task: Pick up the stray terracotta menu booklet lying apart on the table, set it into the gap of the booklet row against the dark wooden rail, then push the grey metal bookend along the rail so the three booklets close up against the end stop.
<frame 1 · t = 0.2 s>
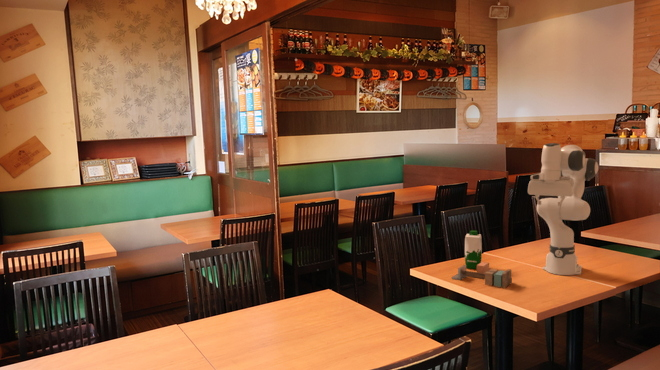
hand: (549, 205, 246), 39 cm above the table, tool pointing down, fingers open, 8 cm apart
milk carton: (473, 267, 282), on the table
bookend: (458, 271, 263), point 3 cm above the table, slide at 0.0 cm
booklet a: (500, 284, 250), on the table
booklet b: (491, 283, 253), on the table
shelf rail: (484, 281, 255), on the table
booklet c: (482, 275, 267), on the table
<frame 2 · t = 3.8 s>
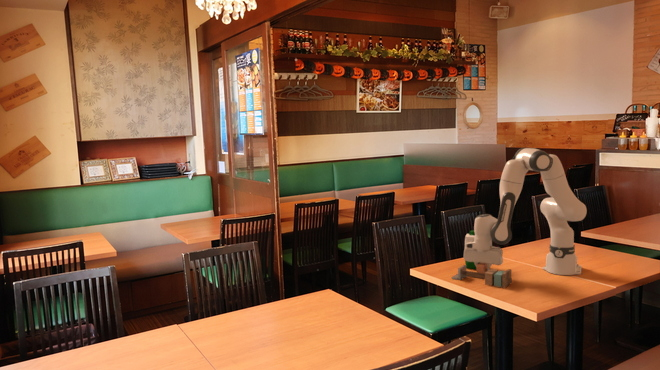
hand: (482, 270, 267), 2 cm above the table, tool pointing down, fingers closed on booklet c, 3 cm apart
booklet c: (482, 274, 267), on the table, touching gripper
everything else where it was.
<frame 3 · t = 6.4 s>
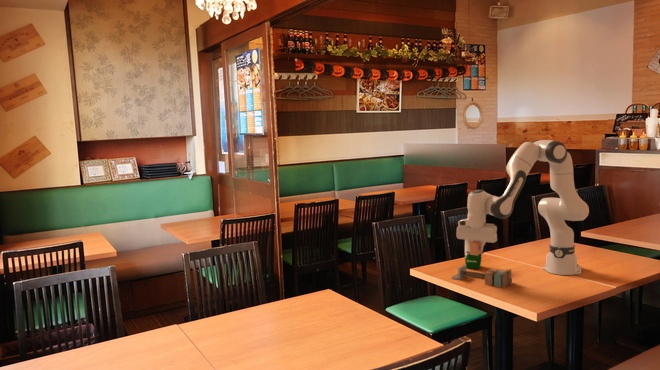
hand: (476, 249, 256), 16 cm above the table, tool pointing down, fingers closed on booklet c, 3 cm apart
booklet c: (476, 253, 256), point 14 cm above the table, touching gripper
everything else where it was.
when the fingers open (3 cm above the table, at t = 8.9 s): booklet c drops 1 cm, on the table.
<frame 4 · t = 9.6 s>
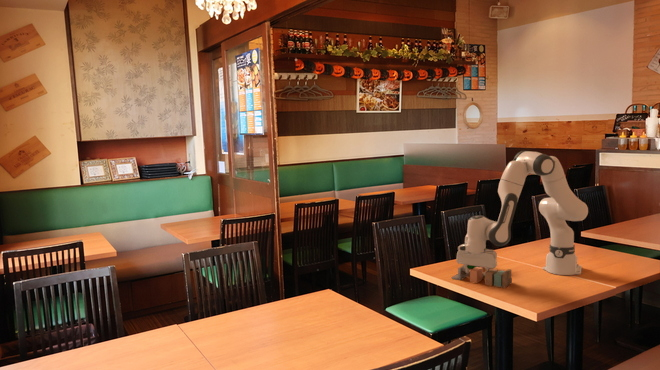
hand: (476, 274, 257), 3 cm above the table, tool pointing down, fingers open, 8 cm apart
booklet c: (476, 280, 258), on the table
everything else where it was.
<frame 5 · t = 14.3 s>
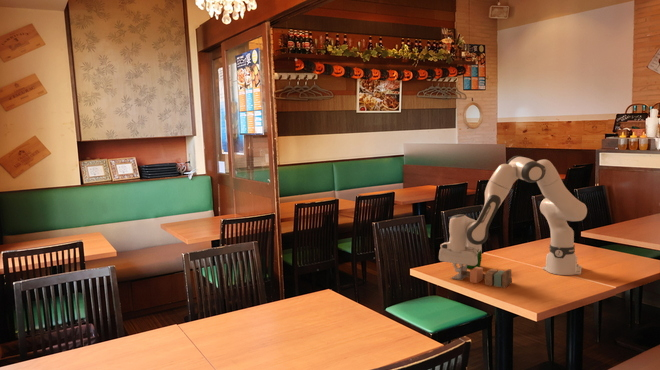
hand: (458, 271, 264), 3 cm above the table, tool pointing down, fingers closed
bookend: (459, 272, 263), point 3 cm above the table, slide at 0.3 cm, touching gripper
everything else where it was.
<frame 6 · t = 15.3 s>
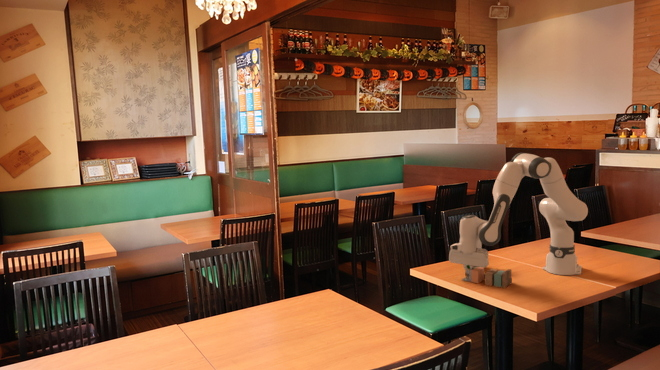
hand: (468, 273, 260), 3 cm above the table, tool pointing down, fingers closed
bookend: (469, 273, 259), point 3 cm above the table, slide at 5.9 cm, touching booklet c, gripper
booklet c: (477, 280, 257), on the table, touching bookend
everything else where it was.
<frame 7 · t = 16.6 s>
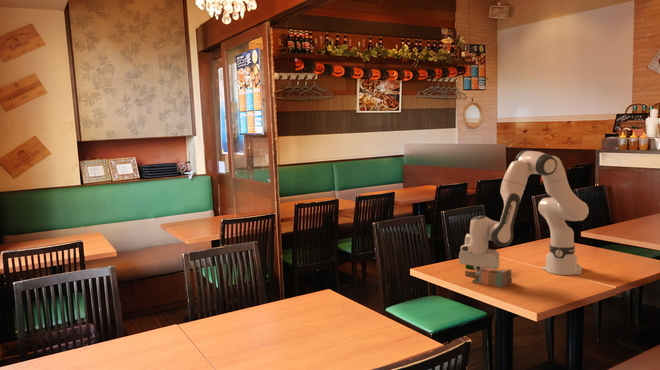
hand: (478, 274, 257), 3 cm above the table, tool pointing down, fingers closed
bookend: (479, 275, 256), point 3 cm above the table, slide at 11.2 cm, touching booklet c, gripper
booklet a: (501, 284, 250), on the table, touching booklet b, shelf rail
booklet b: (494, 283, 252), on the table, touching booklet a, booklet c
booklet c: (488, 282, 254), on the table, touching bookend, booklet b
everything else where it was.
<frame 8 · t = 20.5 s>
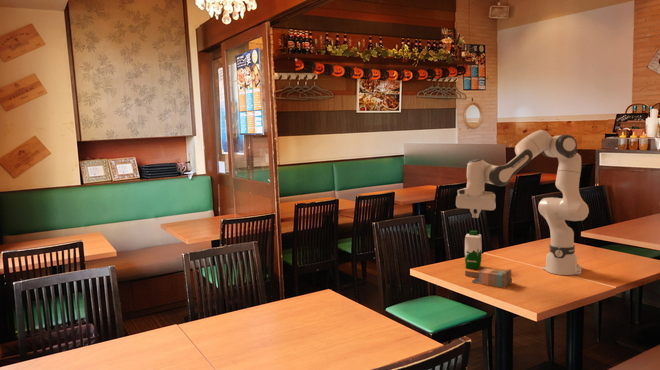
hand: (475, 217, 261), 31 cm above the table, tool pointing down, fingers closed
bookend: (479, 275, 256), point 3 cm above the table, slide at 11.1 cm
booklet a: (501, 284, 250), on the table
booklet b: (494, 283, 252), on the table
booklet c: (487, 282, 254), on the table
everything else where it was.
at the end: booklet c inside the target area (0.0 cm from its centre), on the table; booklet c tilted 0°; bookend slide at 11.1 cm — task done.
